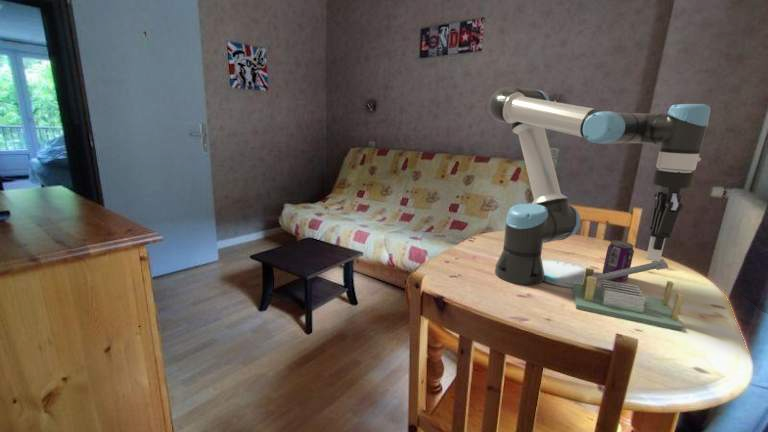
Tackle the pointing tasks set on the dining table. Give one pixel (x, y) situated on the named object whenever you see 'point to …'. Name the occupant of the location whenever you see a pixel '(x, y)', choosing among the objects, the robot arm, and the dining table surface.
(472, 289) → the dining table surface
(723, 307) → the dining table surface
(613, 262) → the beverage can
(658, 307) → the socket board
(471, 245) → the dining table surface
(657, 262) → the strap
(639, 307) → the block
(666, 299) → the posts
